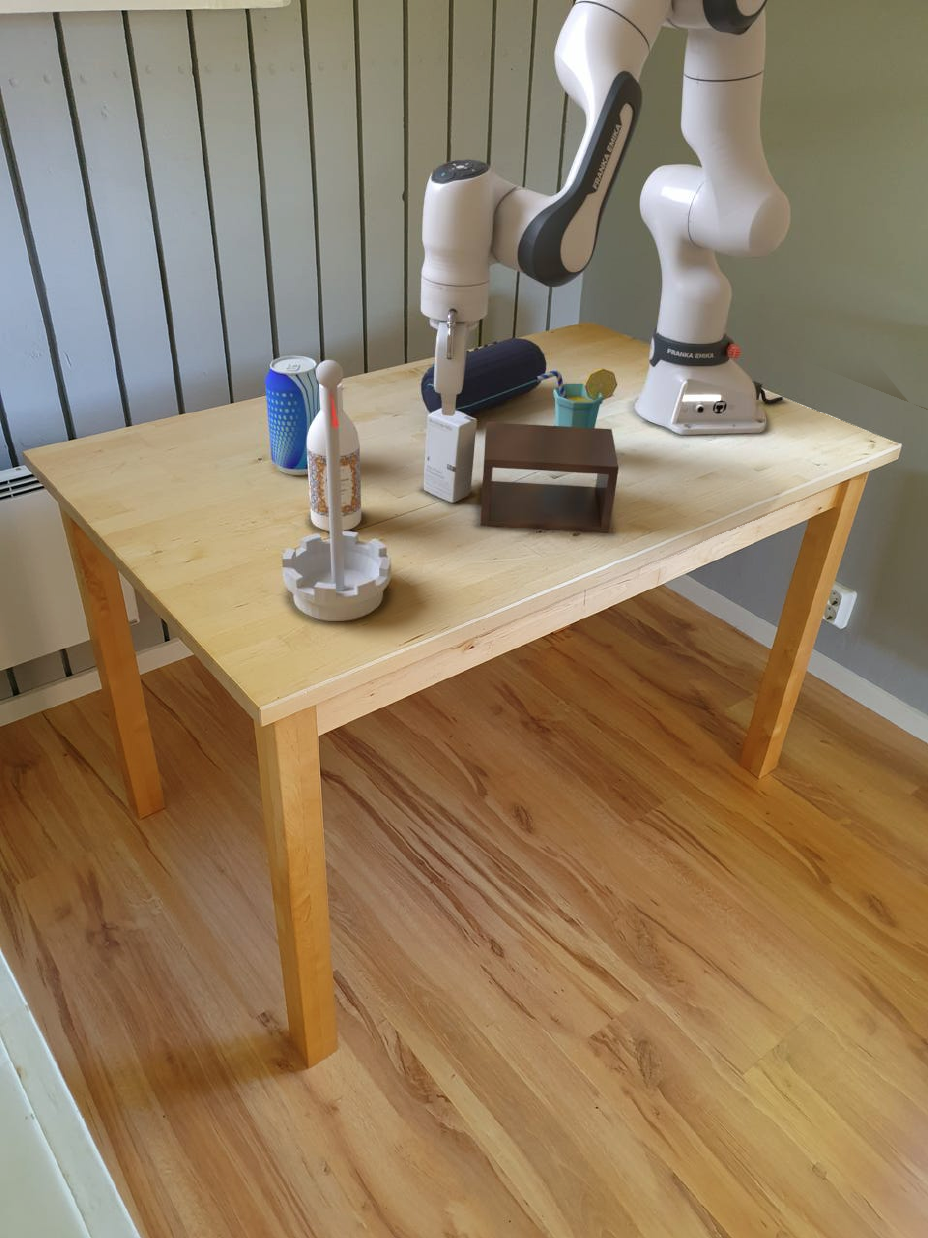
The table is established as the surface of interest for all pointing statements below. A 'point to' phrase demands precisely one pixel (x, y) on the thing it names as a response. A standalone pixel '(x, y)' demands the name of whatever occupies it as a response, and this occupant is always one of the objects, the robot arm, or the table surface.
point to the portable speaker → (491, 376)
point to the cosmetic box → (449, 455)
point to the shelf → (549, 501)
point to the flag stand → (335, 541)
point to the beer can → (291, 410)
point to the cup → (581, 398)
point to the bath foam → (347, 468)
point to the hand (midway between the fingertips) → (450, 399)
